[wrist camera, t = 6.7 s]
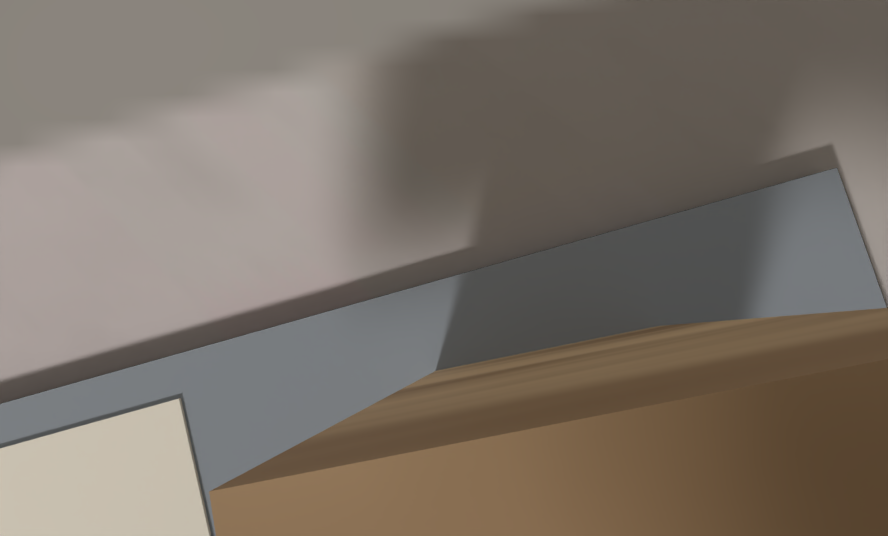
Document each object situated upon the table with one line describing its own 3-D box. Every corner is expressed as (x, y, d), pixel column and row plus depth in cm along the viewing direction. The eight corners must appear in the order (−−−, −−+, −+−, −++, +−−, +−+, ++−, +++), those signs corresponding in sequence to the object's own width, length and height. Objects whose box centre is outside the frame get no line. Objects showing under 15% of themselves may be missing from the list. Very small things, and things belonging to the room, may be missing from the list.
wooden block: (703, 511, 14) (1718, 1356, 2) (471, 554, 15) (366, 1507, 3) (658, 326, 15) (1331, 272, 3) (435, 370, 15) (208, 490, 3)
